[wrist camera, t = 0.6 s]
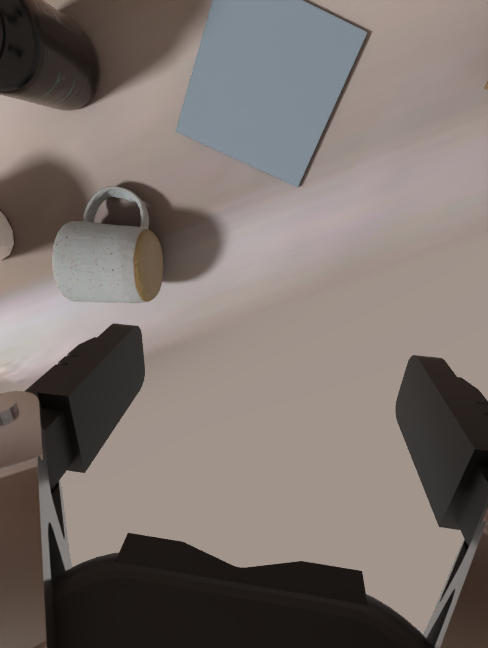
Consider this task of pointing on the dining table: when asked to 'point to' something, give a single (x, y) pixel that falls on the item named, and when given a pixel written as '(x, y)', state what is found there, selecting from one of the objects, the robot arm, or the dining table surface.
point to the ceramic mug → (108, 256)
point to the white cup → (5, 237)
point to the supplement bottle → (45, 56)
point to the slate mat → (268, 82)
